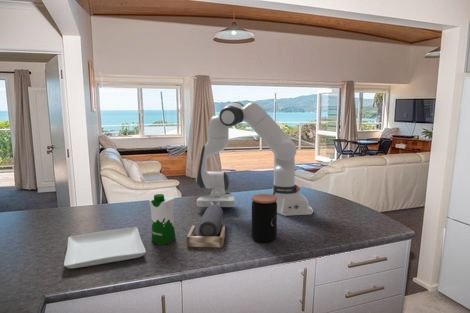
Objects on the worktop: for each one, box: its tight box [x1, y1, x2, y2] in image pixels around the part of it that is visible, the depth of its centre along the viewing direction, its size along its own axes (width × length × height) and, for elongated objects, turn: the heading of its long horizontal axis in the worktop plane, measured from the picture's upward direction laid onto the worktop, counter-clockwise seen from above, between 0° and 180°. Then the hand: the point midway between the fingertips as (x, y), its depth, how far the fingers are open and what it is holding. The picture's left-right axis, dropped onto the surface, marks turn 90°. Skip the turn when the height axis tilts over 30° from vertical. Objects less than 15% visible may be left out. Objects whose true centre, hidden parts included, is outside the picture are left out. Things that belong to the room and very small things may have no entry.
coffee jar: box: [251, 193, 278, 244], centre depth 137 cm, size 11×11×18 cm
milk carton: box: [148, 193, 176, 246], centre depth 135 cm, size 9×9×20 cm
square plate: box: [63, 226, 147, 269], centre depth 126 cm, size 27×27×4 cm
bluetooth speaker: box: [198, 205, 224, 237], centre depth 144 cm, size 23×9×10 cm, turn 177°
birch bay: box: [186, 225, 226, 248], centre depth 136 cm, size 14×13×4 cm
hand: (214, 206), depth 165 cm, fingers closed
